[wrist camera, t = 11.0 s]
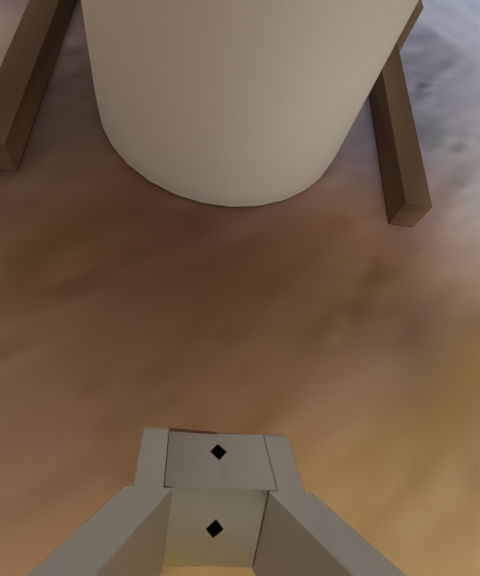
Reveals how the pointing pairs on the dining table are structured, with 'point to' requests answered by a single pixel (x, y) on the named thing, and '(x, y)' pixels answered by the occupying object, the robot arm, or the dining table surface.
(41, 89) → the corral
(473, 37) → the dining table surface
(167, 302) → the dining table surface
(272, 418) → the dining table surface
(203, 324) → the dining table surface
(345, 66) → the cup
